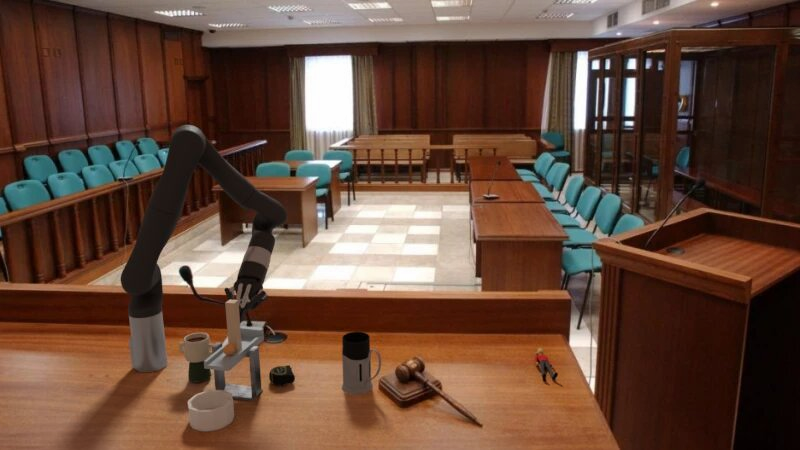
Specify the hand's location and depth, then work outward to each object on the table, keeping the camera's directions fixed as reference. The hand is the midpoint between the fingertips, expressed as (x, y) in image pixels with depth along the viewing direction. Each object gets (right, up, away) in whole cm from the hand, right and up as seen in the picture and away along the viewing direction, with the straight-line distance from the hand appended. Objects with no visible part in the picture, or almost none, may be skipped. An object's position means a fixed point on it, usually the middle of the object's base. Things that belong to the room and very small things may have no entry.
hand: (236, 322), depth 172 cm
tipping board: (0, -9, 0) cm, 9 cm away
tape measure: (+11, -19, +10) cm, 24 cm away
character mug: (-14, -18, +12) cm, 26 cm away
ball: (-1, -8, -3) cm, 9 cm away
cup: (-4, -23, -10) cm, 26 cm away
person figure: (+87, -16, +17) cm, 91 cm away
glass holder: (+34, -20, +5) cm, 40 cm away
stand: (0, -20, +3) cm, 20 cm away
